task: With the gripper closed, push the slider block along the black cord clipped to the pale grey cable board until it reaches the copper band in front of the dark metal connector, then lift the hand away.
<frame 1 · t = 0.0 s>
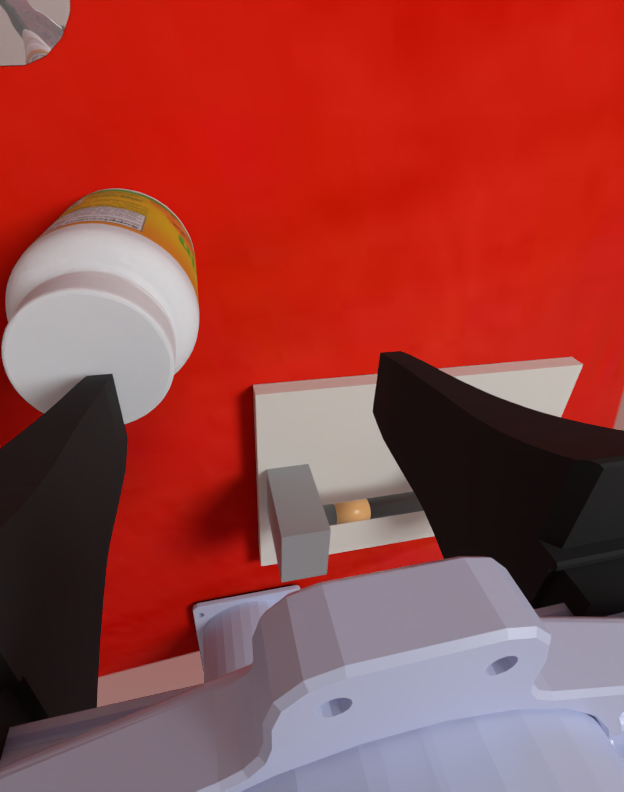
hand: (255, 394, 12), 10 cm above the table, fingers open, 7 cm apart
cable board: (406, 461, 30), on the table
supplement bottle: (130, 253, 19), on the table
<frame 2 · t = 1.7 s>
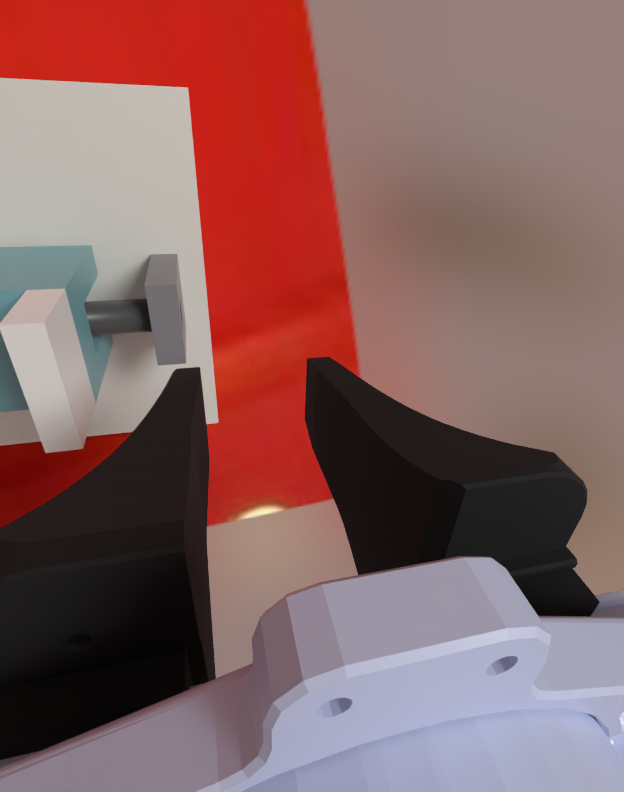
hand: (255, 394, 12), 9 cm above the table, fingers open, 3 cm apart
slider block: (20, 339, 15), point 5 cm above the table, slide at 0.0 cm
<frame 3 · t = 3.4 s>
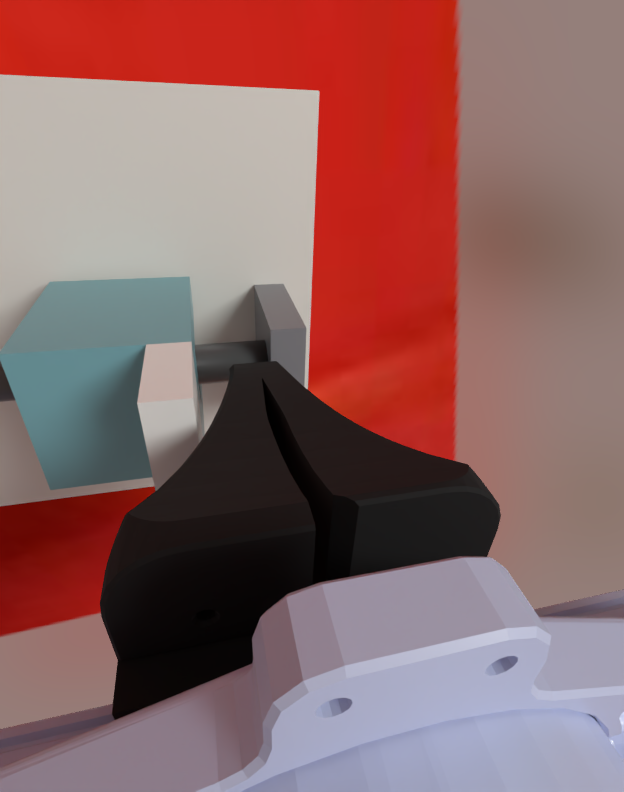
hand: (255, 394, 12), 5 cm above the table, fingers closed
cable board: (13, 328, 15), on the table
slider block: (121, 396, 12), point 5 cm above the table, slide at 0.1 cm, touching gripper
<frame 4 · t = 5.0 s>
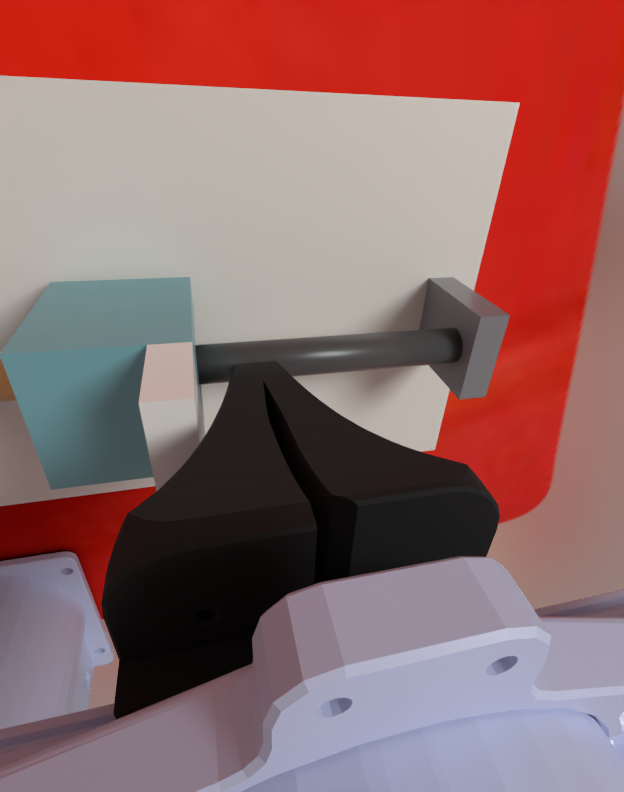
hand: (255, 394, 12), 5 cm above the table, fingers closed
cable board: (209, 317, 17), on the table
slider block: (122, 396, 12), point 5 cm above the table, slide at 6.5 cm, touching gripper
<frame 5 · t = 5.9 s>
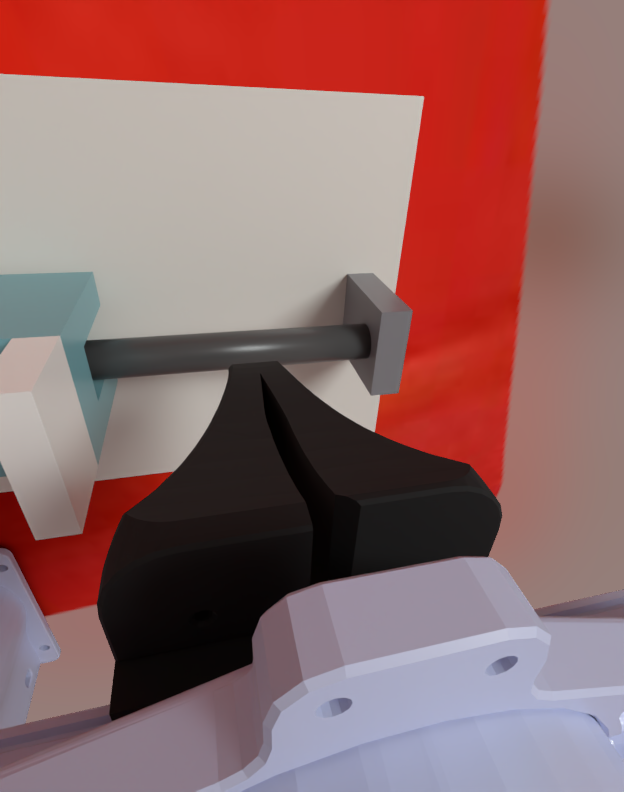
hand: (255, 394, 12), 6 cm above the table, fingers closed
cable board: (126, 313, 16), on the table
slider block: (6, 390, 12), point 5 cm above the table, slide at 6.5 cm
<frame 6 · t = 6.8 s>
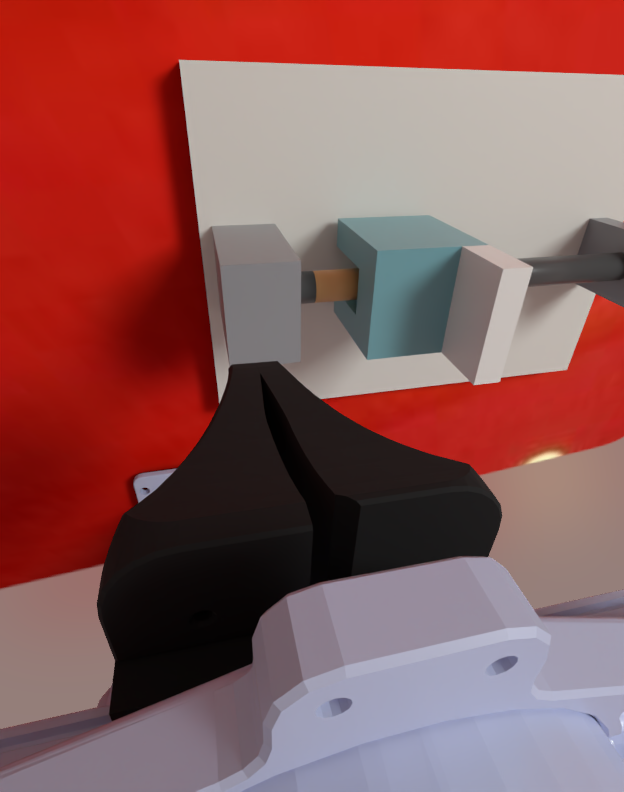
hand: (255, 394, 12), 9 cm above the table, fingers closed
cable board: (419, 252, 21), on the table
slider block: (412, 293, 17), point 5 cm above the table, slide at 6.5 cm
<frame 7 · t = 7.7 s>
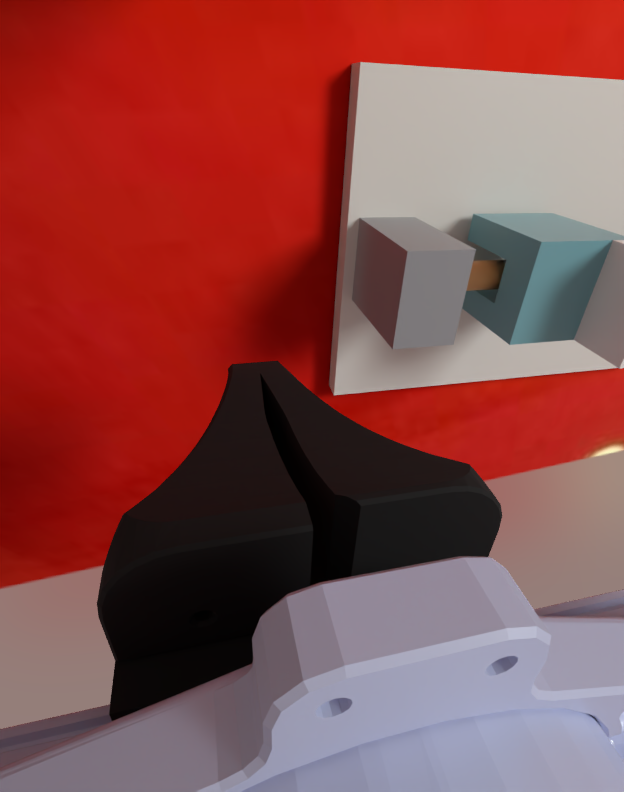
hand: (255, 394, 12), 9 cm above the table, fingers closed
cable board: (529, 249, 23), on the table
slider block: (551, 284, 18), point 5 cm above the table, slide at 6.5 cm
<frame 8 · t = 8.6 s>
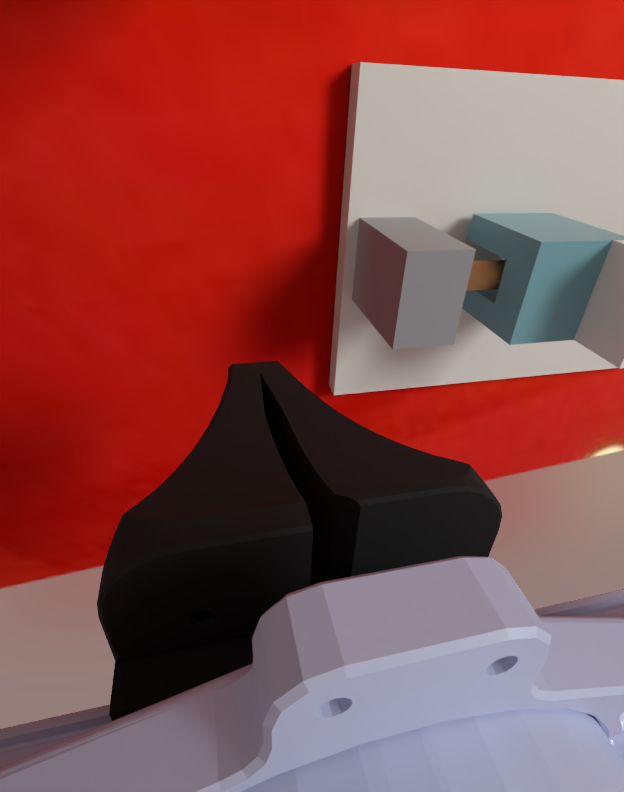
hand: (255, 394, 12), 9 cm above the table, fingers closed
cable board: (529, 249, 23), on the table
slider block: (551, 284, 18), point 5 cm above the table, slide at 6.5 cm
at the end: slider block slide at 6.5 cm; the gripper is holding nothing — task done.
